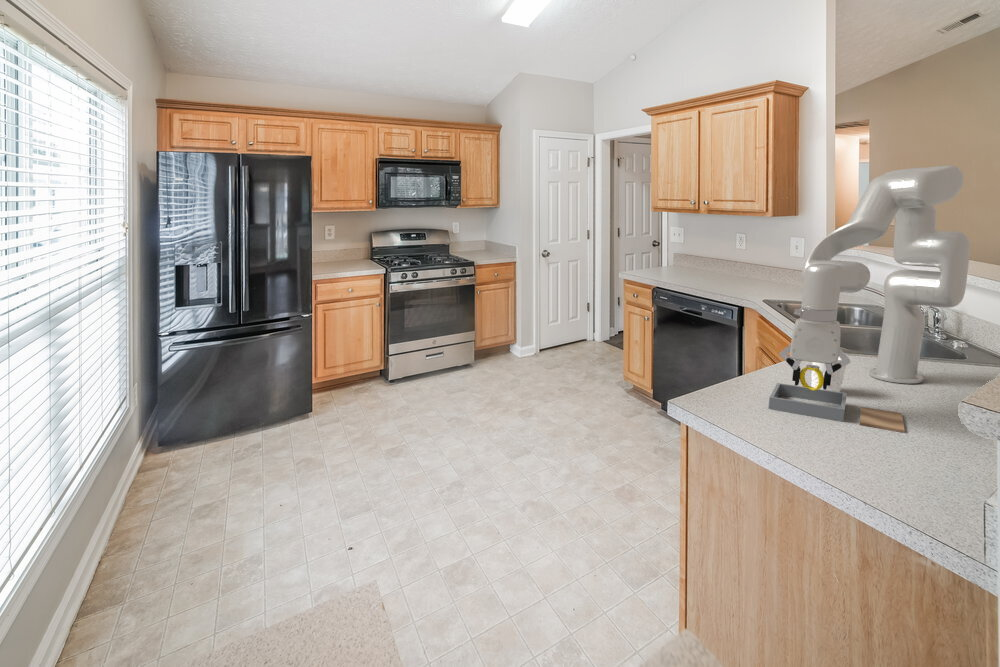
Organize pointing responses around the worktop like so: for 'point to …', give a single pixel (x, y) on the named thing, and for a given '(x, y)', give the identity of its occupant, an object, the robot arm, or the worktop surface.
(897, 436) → the worktop surface
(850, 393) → the worktop surface
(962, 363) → the worktop surface
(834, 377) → the white cup
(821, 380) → the watch
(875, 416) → the board
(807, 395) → the bin
